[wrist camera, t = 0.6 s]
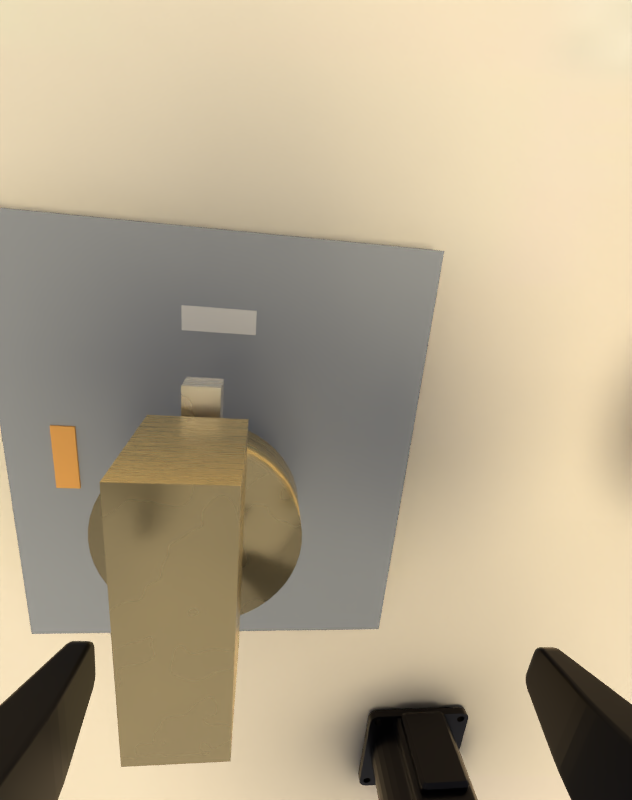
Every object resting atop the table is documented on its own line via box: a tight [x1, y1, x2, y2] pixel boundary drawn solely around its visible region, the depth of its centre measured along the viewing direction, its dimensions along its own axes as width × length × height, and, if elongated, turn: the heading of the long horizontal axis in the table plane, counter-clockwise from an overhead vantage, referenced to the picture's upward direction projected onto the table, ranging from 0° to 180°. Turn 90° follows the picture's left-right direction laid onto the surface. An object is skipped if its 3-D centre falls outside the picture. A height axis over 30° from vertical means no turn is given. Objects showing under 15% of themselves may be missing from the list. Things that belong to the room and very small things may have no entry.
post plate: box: [0, 208, 444, 634], centre depth 19 cm, size 20×18×4 cm
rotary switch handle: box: [88, 377, 302, 767], centre depth 14 cm, size 10×7×6 cm
